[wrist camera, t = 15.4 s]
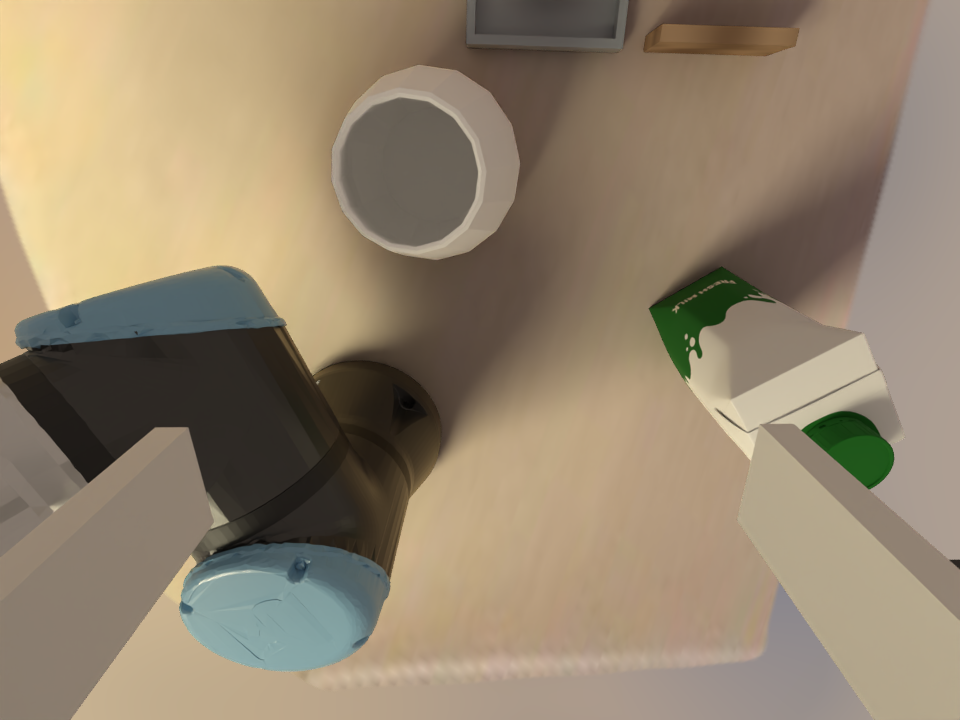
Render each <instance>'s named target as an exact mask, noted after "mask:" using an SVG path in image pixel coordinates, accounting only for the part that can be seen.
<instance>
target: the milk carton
mask: <svg viewBox="0 0 960 720" xmlns="http://www.w3.org/2000/svg"><path fill="white" fill-rule="evenodd" d="M649 310H650V312H651V314H652V317H653V319H654V321H655V323H656V326H657V328H658V331H659V333H660V335H661V338H662V340H663V342H664V345H665V347H666V349H667V351H668V353H669V355H670V357H671V359H672V361H673V363H674V364H675V366H676V368H677V370H678V371H679V373H680V375H681V376H682V378H683V379H684V381H685V382H686V384H687V385H688V386H689V388H690V389H691V390H692V391H693V393H694V394H695V395H696V396H697V398H698V399H699V400H700V401H701V403H702V404H703V405H704V406H705V408H706V409H707V410H708V411H709V413H710V414H711V415H712V416H713V417H714V419H715V420H716V421H717V422H718V424H719V425H720V426H721V427H722V429H723V430H724V431H725V432H726V433H727V434H728V436H729V437H730V438H731V439H732V440H733V441H734V442H735V443H736V444H737V445H738V447H739V448H740V449H741V450H742V451H743V452H744V453H745V454H746V456H747V457H748V458H749V459H750V461H751V459H752V455H753V450H754V446H755V442H756V438H757V433H758V429H759V425H760V424H795V425H796V426H797V427H798V428H799V429H800V430H801V431H802V432H804V433H805V434H806V435H807V436H808V437H809V438H810V439H812V440H813V441H814V442H815V443H816V444H817V445H818V446H820V447H821V448H822V449H823V450H824V451H825V452H826V453H828V454H829V455H830V456H831V457H832V458H833V459H834V460H836V461H837V462H838V463H839V464H840V465H841V466H842V467H844V468H845V469H846V470H847V471H848V472H849V473H850V474H851V475H853V476H854V477H855V478H856V479H857V480H858V481H859V482H861V483H862V484H863V485H864V486H865V487H866V488H867V489H871V488H873V487H875V486H876V485H877V484H879V483H880V482H881V481H882V480H884V479H885V477H886V476H887V475H888V474H889V472H890V470H891V468H892V466H893V462H894V452H893V449H892V447H891V446H890V444H893V443H895V442H898V441H900V440H902V439H904V438H905V434H904V431H903V428H902V425H901V423H900V420H899V417H898V415H897V412H896V409H895V406H894V404H893V401H892V398H891V396H890V393H889V390H888V388H887V382H886V379H885V376H884V374H883V372H882V370H881V369H880V367H879V366H878V365H877V364H876V362H875V360H874V357H873V355H872V352H871V349H870V347H869V344H868V342H867V339H866V337H865V334H864V333H861V332H856V331H851V330H846V329H841V328H835V327H830V326H825V325H822V324H820V323H819V322H817V321H815V320H813V319H811V318H809V317H807V316H806V315H804V314H802V313H800V312H798V311H796V310H795V309H793V308H791V307H789V306H787V305H785V304H783V303H782V302H780V301H778V300H776V299H774V298H772V297H770V296H768V295H767V294H765V293H763V292H762V291H760V290H758V289H757V288H755V287H754V286H752V285H750V284H749V283H747V282H745V281H744V280H742V279H741V278H739V277H737V276H736V275H734V274H733V273H731V272H729V271H728V270H726V269H725V268H723V267H720V268H719V269H717V270H715V271H713V272H712V273H710V274H708V275H706V276H705V277H703V278H701V279H699V280H698V281H696V282H694V283H692V284H691V285H689V286H687V287H685V288H684V289H682V290H680V291H678V292H677V293H675V294H673V295H672V296H670V297H668V298H666V299H665V300H663V301H661V302H659V303H658V304H656V305H654V306H652V307H651V308H649Z"/></svg>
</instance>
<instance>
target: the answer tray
mask: <svg viewBox="0 0 960 720" xmlns="http://www.w3.org/2000/svg"><path fill="white" fill-rule="evenodd" d="M628 3H629V0H467V29H466V45H467V48H489V49H519V50H549V51H579V52H610V53H618V52H619V51H621V50H622V49H623V43H624V35H625V27H626V19H627V11H628Z"/></svg>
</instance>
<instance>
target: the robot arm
mask: <svg viewBox="0 0 960 720" xmlns="http://www.w3.org/2000/svg"><path fill="white" fill-rule="evenodd" d="M286 325H287V324H286V322H285V321H284V320H283V319H282V318H280V317H278V315H277V314H276V312H275V311H274V309H273V308H272V306H271V305H270V303H269V302H268V300H267V299H266V297H265V295H264V294H263V292H262V291H261V289H260V287H259V286H258V284H257V283H256V281H255V280H254V279H253V278H252V277H251V276H250V275H249V274H247V273H246V272H245V271H243V270H241V269H238V268H235V267H232V266H212V267H207V268H202V269H197V270H193V271H189V272H184V273H180V274H176V275H172V276H169V277H165V278H161V279H157V280H153V281H149V282H146V283H142V284H138V285H135V286H131V287H128V288H124V289H121V290H117V291H114V292H110V293H107V294H103V295H100V296H97V297H93V298H90V299H87V300H84V301H81V302H80V303H76V304H71V305H68V306H65V307H62V308H59V309H56V310H52V311H47V312H44V313H41V314H38V315H35V316H32V317H29V318H27V319H25V320H22V321H21V322H19V323H18V324H17V326H16V328H15V334H16V337H17V338H16V344H17V345H18V346H19V347H20V348H21V349H24V348H26V349H27V350H28V351H27V352H25V353H23V354H22V355H19V356H17V357H15V358H13V359H11V360H8V361H6V362H4V363H1V364H0V720H71V718H72V717H73V715H74V714H75V713H76V711H77V710H78V709H79V707H80V706H81V704H82V703H83V702H84V700H85V699H86V698H87V696H88V694H89V693H90V692H91V691H92V689H93V688H94V687H95V685H96V684H97V683H98V681H99V680H100V678H101V677H102V676H103V674H104V673H105V672H106V670H107V669H108V667H109V666H110V665H111V663H112V662H113V661H114V659H115V658H116V656H117V655H118V654H119V652H120V651H121V649H122V648H123V647H124V645H125V644H126V643H127V641H128V640H129V639H130V637H131V636H132V634H133V633H134V632H135V630H136V629H137V627H138V626H139V625H140V623H141V622H142V621H143V619H144V618H145V616H146V615H147V614H148V612H149V611H150V610H151V608H152V607H153V605H154V604H155V603H156V602H157V600H158V599H159V597H160V596H161V595H162V593H163V592H164V591H165V589H166V588H167V586H168V585H169V584H170V582H171V581H172V580H173V578H174V577H175V575H176V574H177V573H178V571H179V570H180V569H181V567H182V566H183V564H184V563H185V562H186V560H187V559H188V558H189V556H190V555H192V557H193V558H194V559H195V561H196V563H197V565H196V566H195V567H194V568H193V569H191V571H190V572H189V574H188V575H187V576H186V578H185V580H184V584H183V587H184V588H183V590H182V593H181V599H182V601H181V603H180V606H179V609H180V614H181V618H182V621H183V623H184V624H185V626H186V627H187V629H188V631H189V632H190V633H191V634H192V636H193V637H194V638H195V639H196V640H198V642H200V643H201V644H202V645H203V646H205V647H206V648H208V649H209V650H211V651H212V652H214V653H216V654H217V655H219V656H222V657H224V658H226V659H228V660H231V661H233V662H236V663H239V664H242V665H245V666H249V667H254V668H262V669H266V670H271V671H305V670H312V669H317V668H321V667H325V666H329V665H331V664H334V663H337V662H339V661H341V660H343V659H345V658H347V657H348V656H350V655H352V654H353V653H355V652H356V651H357V650H358V649H359V648H361V647H362V646H363V645H364V644H365V642H366V641H367V640H368V638H369V636H370V635H371V634H372V632H373V630H374V628H375V626H376V624H377V621H378V618H379V615H380V612H381V609H382V606H383V603H384V601H385V599H386V598H387V597H388V595H389V591H390V577H391V573H392V569H393V564H394V560H395V556H396V551H397V547H398V543H399V539H400V535H401V530H402V526H403V522H404V518H405V514H406V510H407V505H408V501H409V498H410V497H411V496H412V495H413V494H414V493H415V491H416V490H417V489H418V488H419V487H420V485H421V484H422V483H423V482H424V481H425V480H426V478H427V477H428V476H429V474H430V473H431V471H432V469H433V467H434V465H435V463H436V460H437V457H438V453H439V448H440V443H441V422H440V418H439V414H438V412H437V409H436V407H435V405H434V403H433V401H432V399H431V398H430V396H429V395H428V394H427V392H426V391H425V390H424V389H423V388H422V387H421V386H420V385H419V384H418V383H417V382H416V381H415V380H413V379H412V378H411V377H409V376H408V375H406V374H404V373H403V372H401V371H399V370H397V369H395V368H392V367H390V366H387V365H384V364H380V363H376V362H369V361H349V362H343V363H338V364H335V365H332V366H329V367H327V368H325V369H323V370H321V371H319V372H318V373H317V374H315V375H314V376H312V374H311V372H310V371H309V369H308V367H307V365H306V363H305V362H304V360H303V358H302V356H301V354H300V353H299V351H298V349H297V347H296V345H295V344H294V342H293V340H292V338H291V336H290V335H289V333H288V331H287V329H286V327H285V326H286ZM737 521H738V523H739V524H740V525H741V527H742V528H743V530H744V531H745V533H746V534H747V536H748V537H749V539H750V540H751V541H752V543H753V544H754V546H755V547H756V549H757V550H758V552H759V553H760V555H761V556H762V557H763V559H764V560H765V562H766V563H767V565H768V566H769V568H770V569H771V571H772V572H773V573H774V575H775V576H776V578H777V579H778V581H779V582H780V584H781V585H782V587H783V588H784V590H785V591H786V592H787V594H788V595H789V597H790V598H791V600H792V601H793V602H794V604H795V605H796V607H797V608H798V610H799V611H800V613H801V614H802V616H803V617H804V619H805V620H806V622H807V623H808V624H809V626H810V627H811V629H812V630H813V631H814V633H815V634H816V636H817V637H818V639H819V640H820V642H821V643H822V645H823V646H824V648H825V649H826V650H827V652H828V654H829V655H830V656H831V658H832V659H833V661H834V662H835V664H836V665H837V666H838V668H839V670H840V671H841V672H842V674H843V675H844V677H845V678H846V680H847V681H848V683H849V684H850V685H851V687H852V688H853V690H854V691H855V693H856V694H857V696H858V697H859V699H860V700H861V701H862V703H863V704H864V706H865V707H866V709H867V710H868V712H869V713H870V715H871V716H872V718H873V719H874V720H960V560H948V559H947V558H946V557H945V556H944V555H943V554H942V553H940V552H939V551H938V550H937V549H936V548H934V547H933V546H932V545H931V544H930V543H929V542H928V541H927V540H925V539H924V538H923V537H922V536H921V535H920V534H919V533H917V532H916V531H915V530H914V529H913V528H912V527H911V526H910V525H908V524H907V523H906V522H905V521H904V520H903V519H901V518H900V517H899V516H898V515H897V514H896V513H895V512H894V511H892V510H891V509H890V508H889V507H888V506H887V505H885V503H883V502H882V501H881V500H880V499H879V498H878V497H877V496H875V495H874V494H873V493H872V492H871V491H870V490H869V489H867V488H866V487H865V486H864V485H863V484H862V483H861V482H859V481H858V480H857V479H856V478H855V477H854V476H853V475H851V474H850V473H849V472H848V471H847V470H846V469H845V468H844V467H842V466H841V465H840V464H839V463H838V462H837V461H836V460H834V459H833V458H832V457H831V456H830V455H829V454H828V453H826V452H825V451H824V450H823V449H822V448H821V447H820V446H818V445H817V444H816V443H815V442H814V441H813V440H812V439H810V438H809V437H808V436H807V435H806V434H805V433H804V432H802V431H801V430H800V429H799V428H798V427H797V426H796V425H795V424H760V425H759V429H758V433H757V438H756V442H755V446H754V450H753V455H752V459H751V463H750V467H749V471H748V476H747V480H746V484H745V488H744V493H743V497H742V501H741V505H740V509H739V514H738V518H737Z"/></svg>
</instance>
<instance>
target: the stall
mask: <svg viewBox="0 0 960 720" xmlns="http://www.w3.org/2000/svg"><path fill="white" fill-rule="evenodd" d="M799 29H800V28H776V27H745V26H714V25H683V24H662V25H660V26H659V27H658V28H656V29H655V30H653V31H652V32H651V33H649V34H648V35H647V36H646V38H645V45H644V52H657V53H687V54H717V55H748V56H767V55H770V54H773V53H776V52H779V51H782V50H785V49H788V48H791V47H794V46H796V41H797V37H798V33H799Z"/></svg>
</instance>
